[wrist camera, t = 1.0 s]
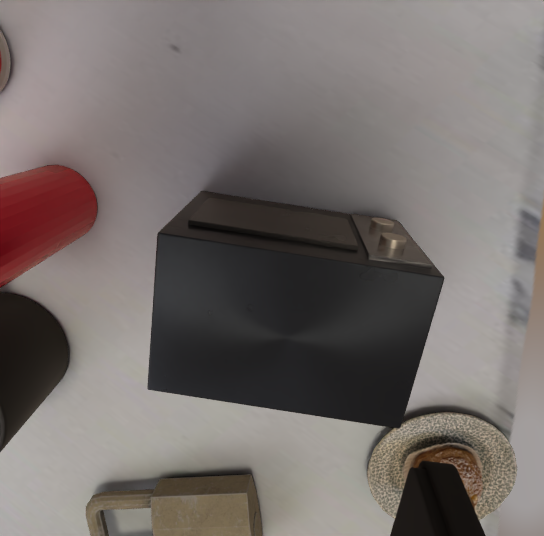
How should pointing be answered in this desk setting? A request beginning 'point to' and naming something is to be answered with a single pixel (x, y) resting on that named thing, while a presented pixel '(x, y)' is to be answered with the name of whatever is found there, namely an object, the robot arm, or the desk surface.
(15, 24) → the desk surface
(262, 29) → the desk surface
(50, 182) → the bottle
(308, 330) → the appliance
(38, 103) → the desk surface
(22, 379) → the mug
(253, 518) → the padlock
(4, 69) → the pill bottle
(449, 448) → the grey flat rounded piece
